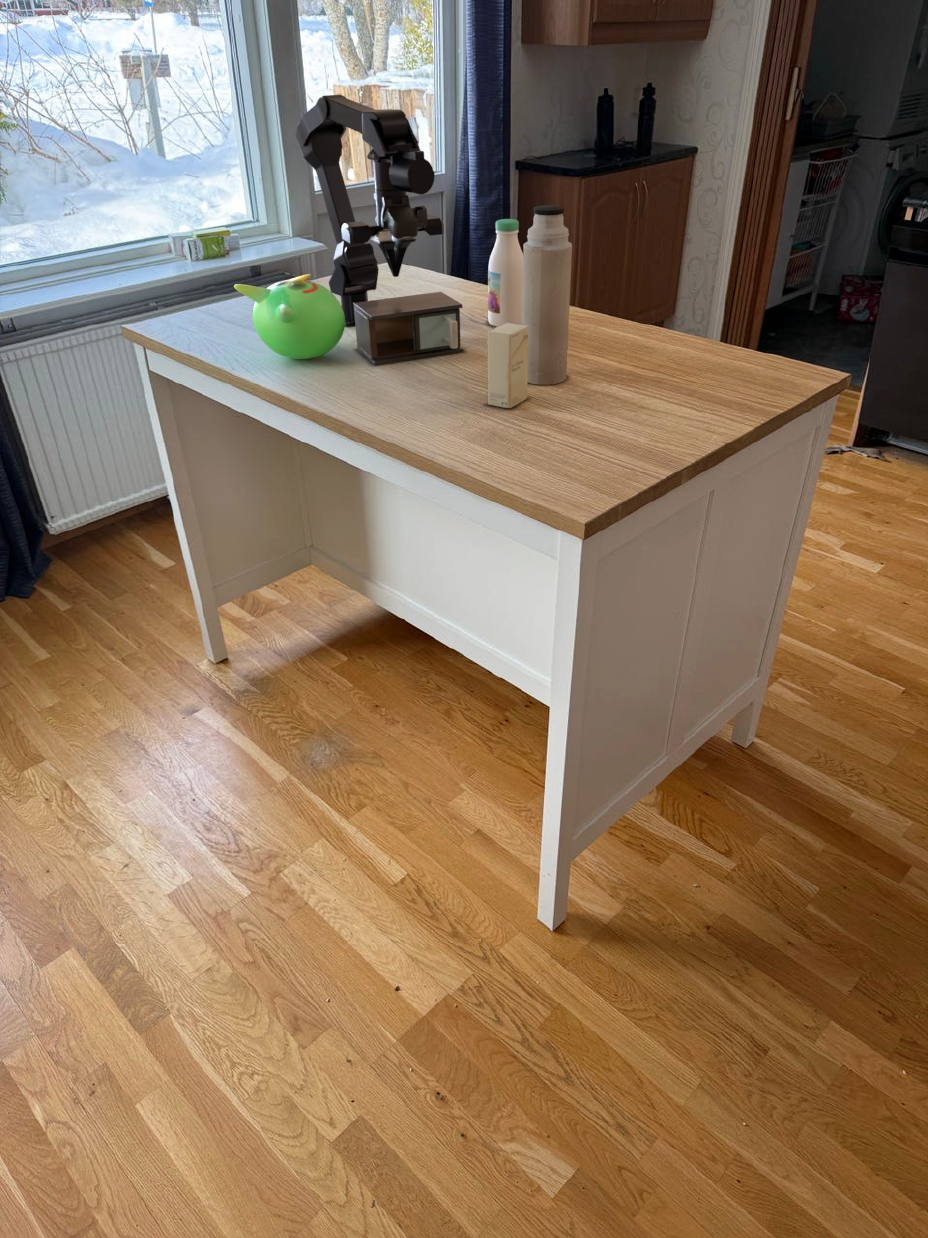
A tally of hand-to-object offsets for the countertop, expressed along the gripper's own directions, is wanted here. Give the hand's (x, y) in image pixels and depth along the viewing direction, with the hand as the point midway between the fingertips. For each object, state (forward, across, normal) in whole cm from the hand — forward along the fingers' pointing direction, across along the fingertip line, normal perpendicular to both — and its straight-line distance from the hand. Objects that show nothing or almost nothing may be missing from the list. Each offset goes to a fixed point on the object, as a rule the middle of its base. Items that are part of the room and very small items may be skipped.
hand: (395, 276), depth 174 cm
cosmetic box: (+12, +4, -42) cm, 44 cm away
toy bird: (+12, -21, -2) cm, 24 cm away
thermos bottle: (+12, +15, -34) cm, 39 cm away
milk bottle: (+12, +24, 0) cm, 27 cm away
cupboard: (+12, -1, -8) cm, 14 cm away
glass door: (+11, +3, -16) cm, 19 cm away
